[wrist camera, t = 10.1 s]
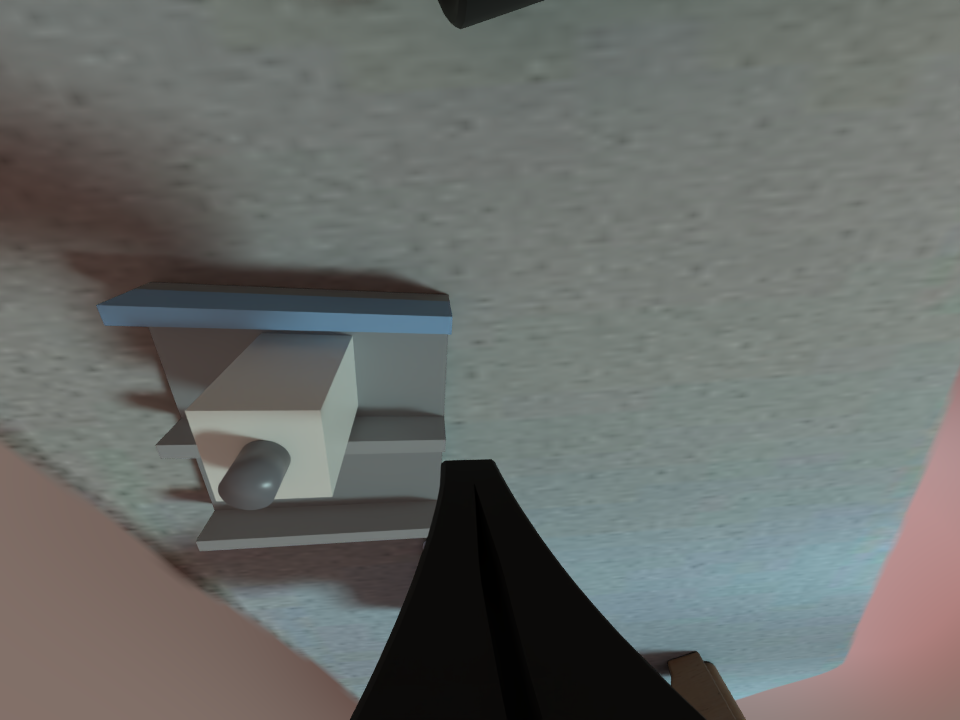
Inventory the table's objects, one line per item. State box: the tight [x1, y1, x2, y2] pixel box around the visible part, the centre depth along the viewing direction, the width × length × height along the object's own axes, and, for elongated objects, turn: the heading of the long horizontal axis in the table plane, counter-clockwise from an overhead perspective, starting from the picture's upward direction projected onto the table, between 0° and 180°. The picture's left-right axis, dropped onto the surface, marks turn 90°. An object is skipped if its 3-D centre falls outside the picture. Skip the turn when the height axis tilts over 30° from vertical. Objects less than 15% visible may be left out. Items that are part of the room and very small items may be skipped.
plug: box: [185, 333, 358, 510], centre depth 15 cm, size 4×4×8 cm
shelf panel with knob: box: [96, 282, 452, 551], centre depth 19 cm, size 14×13×3 cm
